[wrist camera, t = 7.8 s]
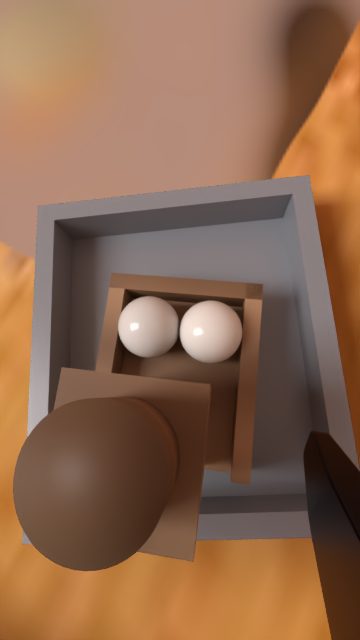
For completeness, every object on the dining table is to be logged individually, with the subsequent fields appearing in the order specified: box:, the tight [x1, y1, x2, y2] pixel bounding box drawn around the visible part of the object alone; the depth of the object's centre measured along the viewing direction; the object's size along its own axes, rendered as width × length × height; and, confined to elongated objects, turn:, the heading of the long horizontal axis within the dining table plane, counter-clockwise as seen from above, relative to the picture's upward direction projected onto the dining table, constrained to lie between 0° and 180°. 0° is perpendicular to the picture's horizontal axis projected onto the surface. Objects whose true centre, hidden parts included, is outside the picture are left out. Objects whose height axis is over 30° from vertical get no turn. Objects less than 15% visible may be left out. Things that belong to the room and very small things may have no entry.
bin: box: [22, 175, 360, 544], centre depth 17 cm, size 17×15×3 cm
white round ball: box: [118, 296, 180, 358], centre depth 16 cm, size 3×3×3 cm
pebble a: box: [179, 300, 243, 363], centre depth 15 cm, size 3×3×3 cm
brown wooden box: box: [13, 273, 263, 571], centre depth 12 cm, size 9×8×12 cm
